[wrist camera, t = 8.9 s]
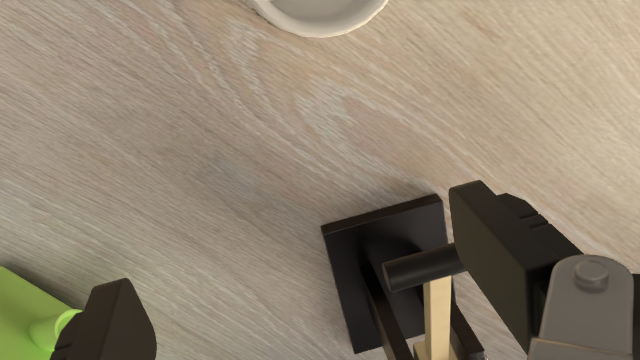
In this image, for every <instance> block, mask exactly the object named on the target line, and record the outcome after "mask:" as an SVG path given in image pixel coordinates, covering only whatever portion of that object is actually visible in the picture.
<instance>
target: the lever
mask: <svg viewBox="0 0 640 360" xmlns="http://www.w3.org/2000/svg"><path fill="white" fill-rule="evenodd" d="M382 269H383V273H384V277H385V280H386V283H387V286H388V288H389V290H390V292H396V291H399V290H403V289H406V288H410V287H413V286H417V285H420V284H423V288H424V316H425V341H422V342H419V343H415V344H413V349H414V360H458V359H457V356H456V354H455V352H454V350H453V347H452V345H451V343H450V341H449V333H450V301H451V275H455V274H458V273H462V272H465V271H467V269H466V268H465V267H464V265H463V264H462V262H461V260H460V258H459V255H458V253H457V250H456V247H455V242H454V243H450V244H447V245H443V246H440V247H436V248H433V249H429V250H426V251H422V252H419V253H415V254H412V255H409V256H405V257H402V258H398V259H395V260H391V261H388V262H384V263H382Z"/></svg>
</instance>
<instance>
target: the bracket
mask: <svg viewBox="0 0 640 360" xmlns="http://www.w3.org/2000/svg"><path fill="white" fill-rule="evenodd" d="M321 230H322V234H323V238H324V241H325V245H326V249H327V253H328V257H329V261H330V264H331V268H332V272H333V276H334V280H335V283H336V287H337V291H338V295H339V299H340V302H341V306H342V310H343V314H344V318H345V321H346V325H347V329H348V333H349V337H350V340H351V344H352V348H353V351H354V354H358V353H361V352H364V351H368V350H371V349H375V348H378V347H381V346H383V348H384V351H385V353H386V356H387V359H388V360H414V359H413V356H412V354H411V352H410V349H409V347H408V345H407V343H406V340H405V339H409V338H412V337H415V336H419V335H422V334H425V316H424V288H423V284H420V285H417V286H413V287H410V288H406V289H403V290H399V291H396V292H390V290H389V288H388V286H387V283H386V280H385V277H384V273H383V269H382V263H384V262H388V261H391V260H395V259H398V258H402V257H405V256H409V255H412V254H415V253H419V252H422V251H426V250H429V249H433V248H436V247H440V246H443V245H447V244H448V238H447V230H446V223H445V215H444V208H443V201H442V200H441V198H440V197H439V196H438V195H437V194H434V195H430V196H427V197H423V198H419V199H416V200H412V201H409V202H405V203H402V204H398V205H395V206H391V207H387V208H384V209H380V210H377V211H373V212H370V213H366V214H363V215H359V216H355V217H352V218H348V219H345V220H341V221H338V222H334V223H330V224H327V225H323V226H321ZM449 341H450V343H451V345H452V347H453V350H454V352H455V354H456V356H457V359H458V360H487V356H486V353H485V350H484V348H483V346H482V345H481V343H480V342H479V340H478V339H477V337H476V335H475V334H474V332H473V330H472V329H471V327H470V326H469V324H468V322H467V321H466V319H465V318H464V316H463V314H462V313H461V311H460V309H459V308H458V306H457V305H456V298H455V290H454V283H453V275H451V301H450V333H449Z"/></svg>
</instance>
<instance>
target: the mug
mask: <svg viewBox="0 0 640 360" xmlns="http://www.w3.org/2000/svg"><path fill="white" fill-rule="evenodd" d="M243 1H244V2H245V4H246V5H247V6H248V7H249V8H250V9H251V10H252V11H253V12H254V13H255V14H256V15H258V16H259V17H261V18H262V19H264V20H265V21H267V22H268V23H270V24H271V25H273V26H275V27H278V28H280V29H282V30H285V31H288V32H291V33H294V34H297V35H300V36H303V37H316V38H328V37H332V36H337V35H342V34H346V33H348V32H350V31H352V30H354V29H356V28H358V27H360V26H362V25H364V24H366V23H367V22H368V21H369V20H370V19H371V18H373V17H374V16H375V15H376V14H377V13H378V12H379V11H380V10H382V9H383V7H384V6H385V4H386V3H387V2H388V0H243Z"/></svg>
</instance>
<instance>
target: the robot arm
mask: <svg viewBox="0 0 640 360" xmlns="http://www.w3.org/2000/svg"><path fill="white" fill-rule="evenodd" d="M449 203H450V212H451V220H452V228H453V236H454V242H455V247H456V250H457V253H458V255H459V258H460V260H461V262H462V264H463V265H464V267H465V268H466V269H467V271H468V272H469V274H470V275H471V276H472V278H473V279H474V281H475V282H476V284H477V285H478V286H479V288H480V289H481V291H482V292H483V293H484V295H485V296H486V298H487V299H488V300H489V302H490V303H491V305H492V306H493V308H494V309H495V310H496V312H497V313H498V315H499V316H500V317H501V319H502V320H503V322H504V323H505V324H506V326H507V327H508V329H509V330H510V332H511V333H512V334H513V336H514V337H515V339H516V340H517V341H518V343H519V344H520V346H521V347H522V348H523V350H524V351H525V353H526V354H527V356H528V357H527V360H640V274H631V272H630V271H629V270H628V269H627V268H626V267H625V266H624V265H622V264H621V263H619V262H617V261H615V260H613V259H610V258H607V257H603V256H598V255H588V254H586V255H585V254H584V253H583V252H581V251H580V250H579V249H578V248H577V247H576V246H575V245H574V244H573V243H571V242H570V241H569V240H568V239H567V238H566V237H565V236H564V235H563V234H562V233H560V232H559V231H558V230H557V229H556V228H555V227H554V226H553V225H552V224H549V223H548V221H547V220H546V219H545V218H544V217H543V216H542V215H541V214H538V212H537V211H536V210H535V209H534V208H533V207H532V206H531V205H530V204H528V203H527V202H526V201H525V200H523V199H520V198H518V197H515V196H513V195H510V194H508V193H504V194H501V195H497V196H496V195H495V194H494V193H493V192H492V191H491V190H490V189H489V188H488V187H487V186H486V185H485V184H484V183H483V182H482V181H481V180H476V181H473V182H469V183H466V184H462V185H458V186H455V187H451V188H450V189H449ZM54 350H55V351H54V352H52V354H51V357H50V359H49V360H155V358H156V351H157V343H156V336H155V332H154V329H153V326H152V324H151V322H150V320H149V318H148V315H147V313H146V311H145V309H144V307H143V305H142V303H141V301H140V299H139V297H138V295H137V293H136V291H135V289H134V287H133V285H132V283H131V282H130V280H129V279H127V278H123V279H119V280H116V281H112V282H109V283H105V284H101V285H98V286H95V287H93V289H92V291H91V293H90V296H89V299H88V302H87V304H86V307H85V310H84V311H82V312H79V313H76V314H75V315H74V316H73V317H72V319H71V320H70V321H69V322H68V323H67V324H66V326H65V327H64V328H63V329H62V330H61V332H60V335H59V337H58V340H57V342H56V345H55V347H54Z"/></svg>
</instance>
